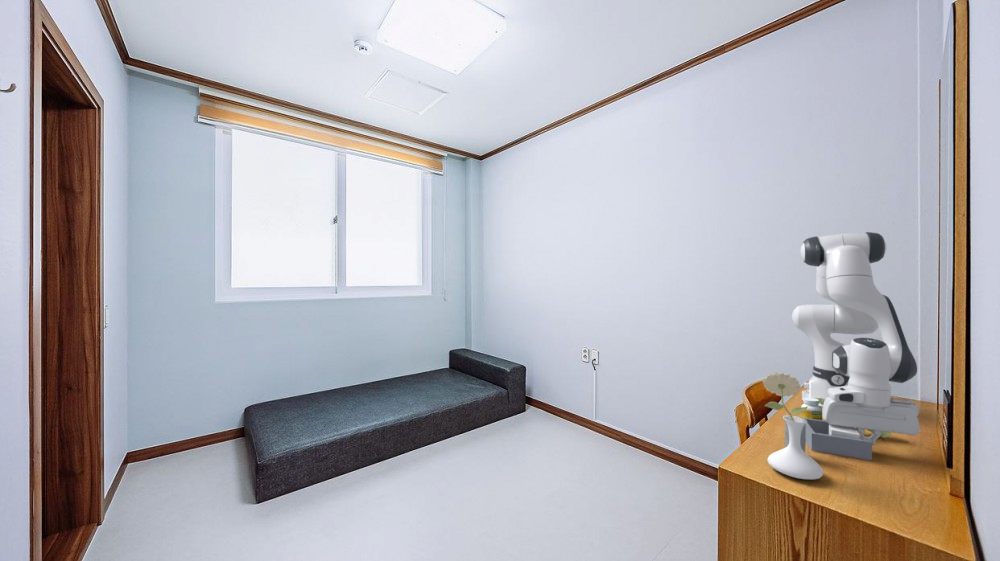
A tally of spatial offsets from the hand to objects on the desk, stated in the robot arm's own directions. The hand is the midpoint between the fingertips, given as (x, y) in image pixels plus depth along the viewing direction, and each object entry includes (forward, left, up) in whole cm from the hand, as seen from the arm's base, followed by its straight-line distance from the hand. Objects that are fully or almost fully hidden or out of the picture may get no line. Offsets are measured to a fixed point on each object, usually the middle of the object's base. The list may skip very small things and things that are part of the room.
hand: (868, 443), depth 110 cm
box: (0, -8, -2) cm, 8 cm away
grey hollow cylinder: (+13, -19, -2) cm, 23 cm away
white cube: (+2, -6, -2) cm, 7 cm away
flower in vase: (+24, -22, -2) cm, 33 cm away
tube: (-14, +9, 0) cm, 17 cm away
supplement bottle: (-13, -10, -2) cm, 17 cm away
